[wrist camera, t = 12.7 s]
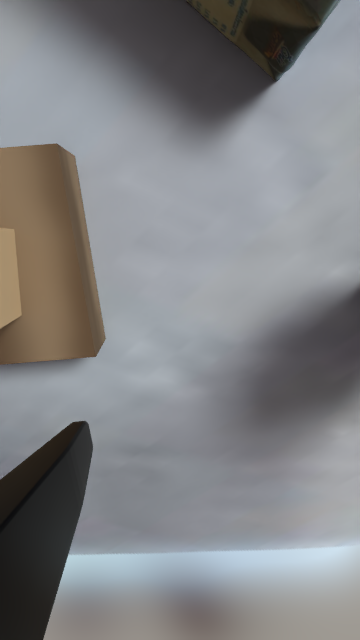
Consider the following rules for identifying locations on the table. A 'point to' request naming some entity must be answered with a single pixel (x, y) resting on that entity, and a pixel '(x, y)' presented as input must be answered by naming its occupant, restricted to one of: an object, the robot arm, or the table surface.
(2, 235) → the kraft carton
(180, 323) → the table surface
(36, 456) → the robot arm
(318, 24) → the beverage carton
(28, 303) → the walnut podium
